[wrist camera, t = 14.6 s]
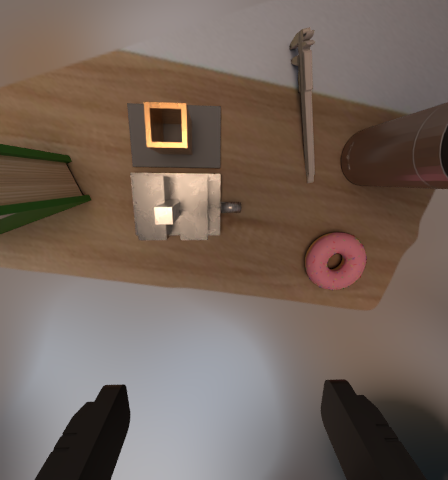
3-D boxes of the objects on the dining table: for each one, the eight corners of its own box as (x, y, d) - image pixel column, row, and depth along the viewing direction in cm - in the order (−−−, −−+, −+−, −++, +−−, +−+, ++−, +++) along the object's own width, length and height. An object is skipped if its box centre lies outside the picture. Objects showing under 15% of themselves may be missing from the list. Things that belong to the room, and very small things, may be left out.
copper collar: (191, 120, 35) (186, 103, 27) (192, 154, 36) (187, 147, 28) (158, 119, 35) (143, 102, 27) (160, 154, 36) (146, 147, 28)
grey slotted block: (237, 174, 38) (251, 171, 25) (236, 232, 40) (247, 256, 28) (134, 173, 37) (95, 169, 24) (139, 232, 39) (106, 257, 27)
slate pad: (220, 107, 35) (220, 106, 35) (220, 168, 37) (220, 167, 37) (128, 104, 34) (127, 103, 34) (134, 166, 37) (132, 166, 36)
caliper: (287, 47, 34) (304, 18, 28) (294, 45, 34) (313, 16, 28) (306, 183, 39) (324, 184, 33) (312, 181, 39) (331, 182, 33)
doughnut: (308, 226, 41) (319, 231, 37) (364, 233, 42) (380, 239, 38) (295, 280, 44) (304, 291, 40) (348, 286, 45) (362, 297, 41)
